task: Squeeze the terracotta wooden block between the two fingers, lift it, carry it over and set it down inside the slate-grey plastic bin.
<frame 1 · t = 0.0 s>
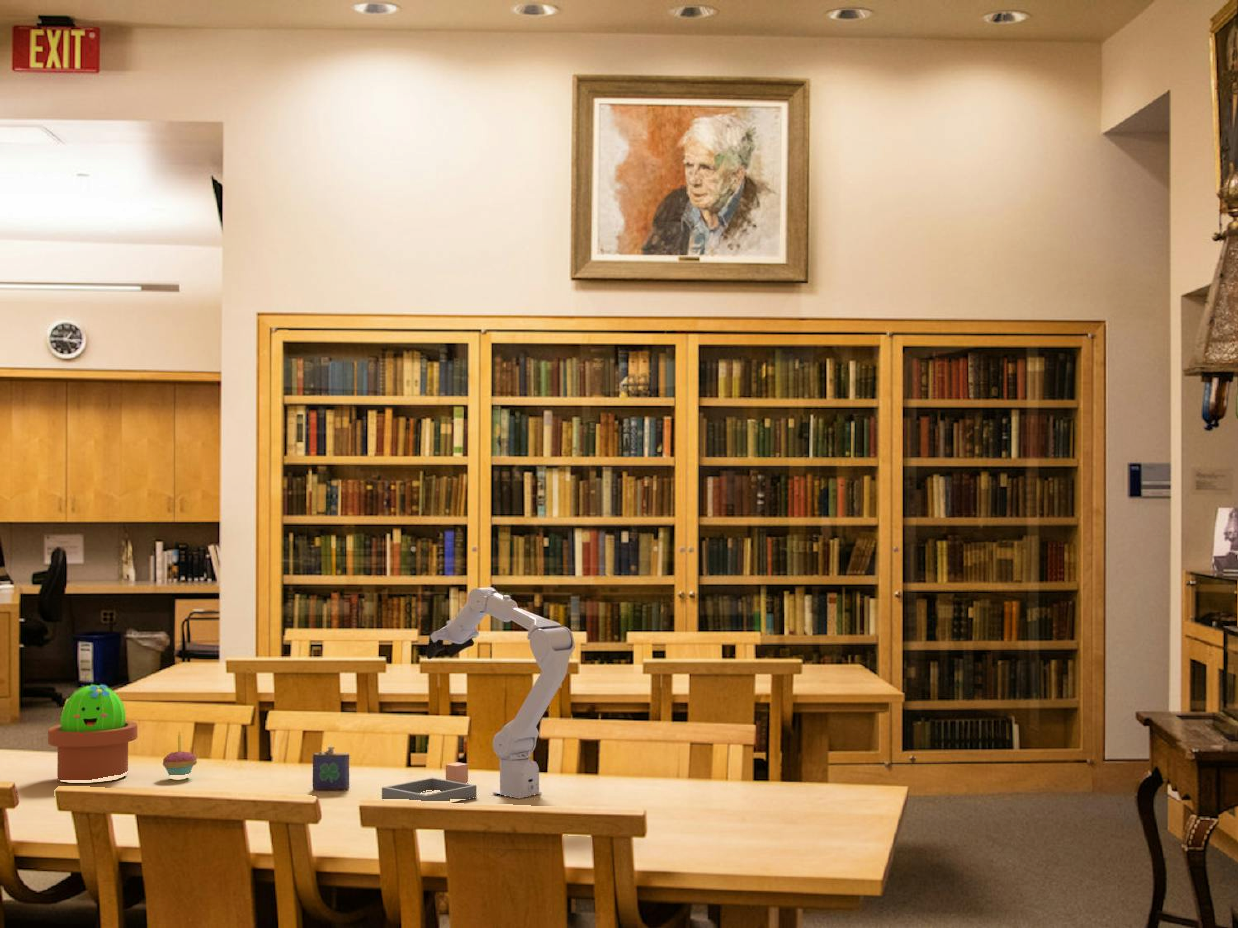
hand: (438, 654, 355), 32 cm above the table, tool tilted 50°, fingers open, 7 cm apart
cupcake: (179, 779, 360), on the table
flask: (330, 790, 343), on the table
bin: (429, 798, 331), on the table
block: (456, 783, 350), on the table
potted cactus: (93, 778, 362), on the table
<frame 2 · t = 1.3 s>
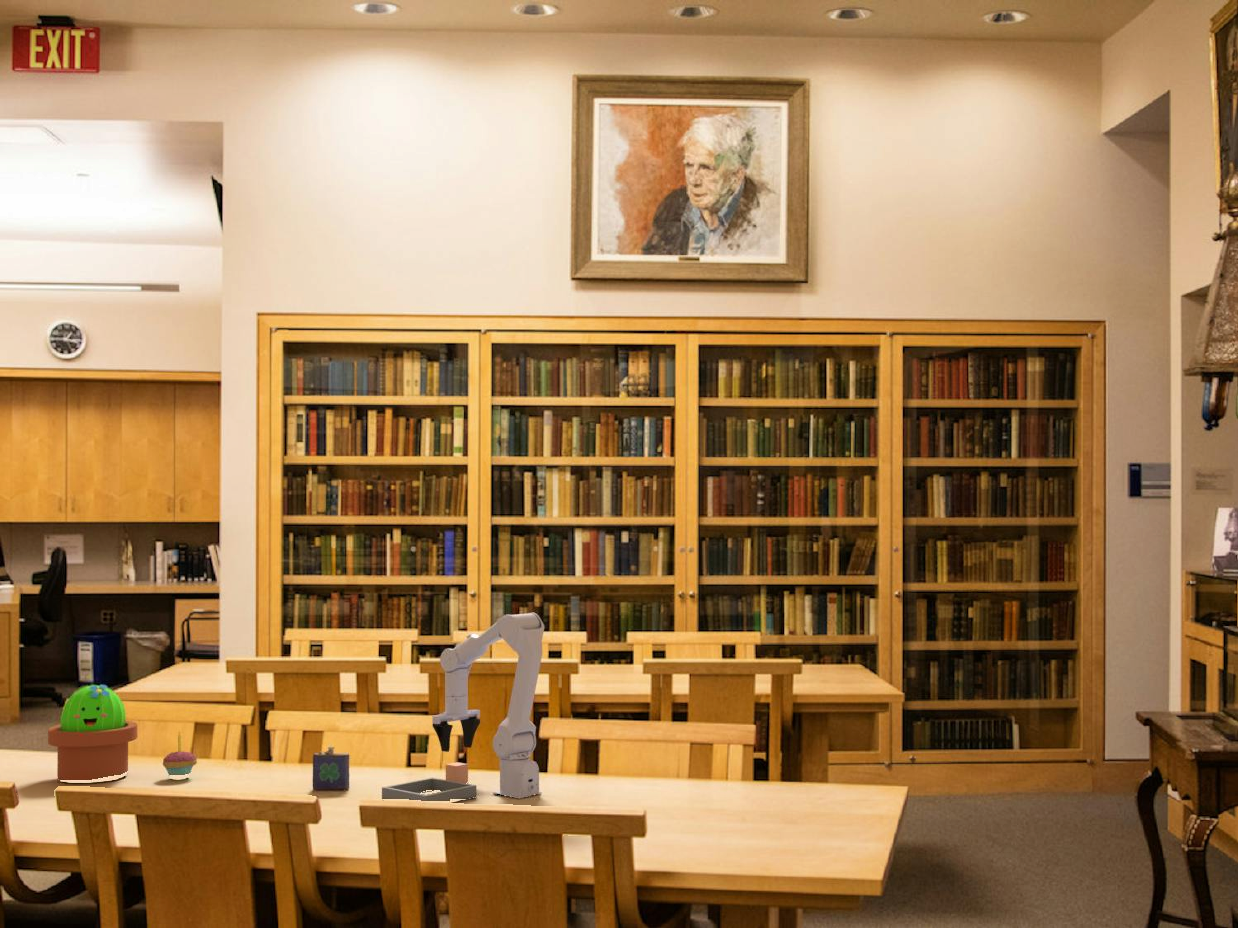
hand: (456, 749, 350), 9 cm above the table, tool pointing down, fingers open, 7 cm apart
nothing on the table moved.
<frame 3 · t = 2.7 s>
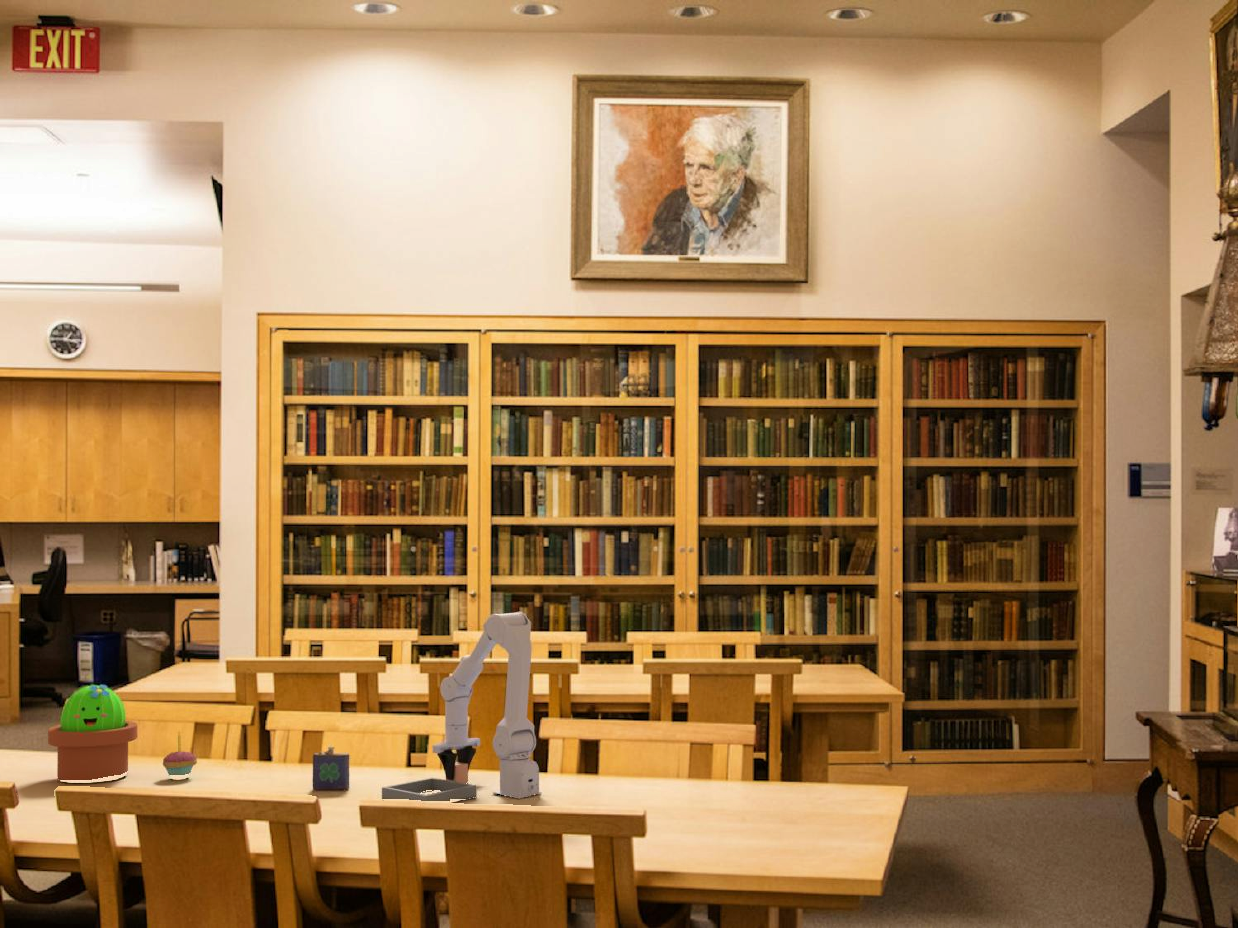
hand: (456, 777, 350), 1 cm above the table, tool pointing down, fingers closed on block, 4 cm apart
block: (456, 783, 350), on the table, touching gripper
everything else where it was.
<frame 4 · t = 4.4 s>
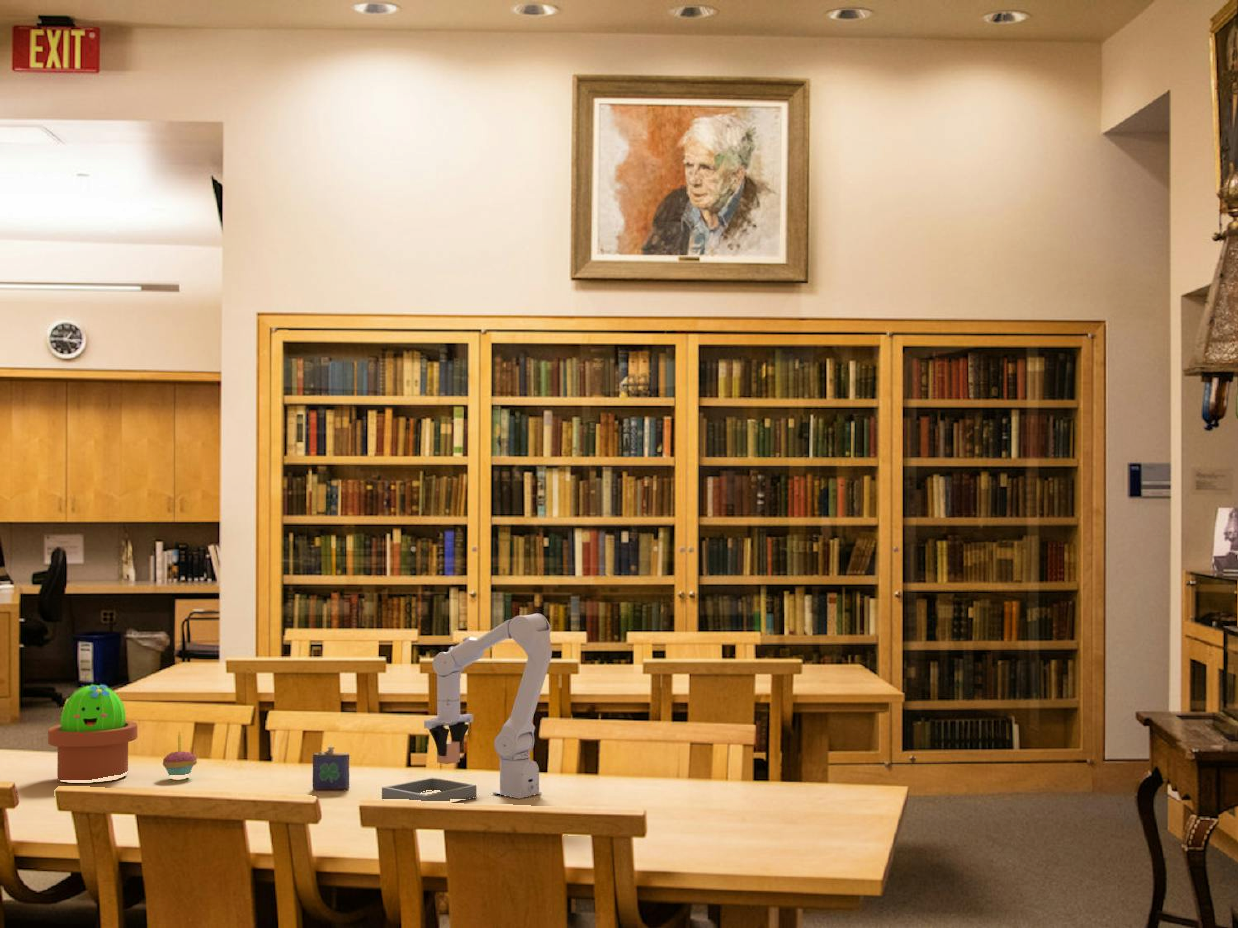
hand: (449, 754, 344), 8 cm above the table, tool pointing down, fingers closed on block, 4 cm apart
block: (448, 762, 345), point 6 cm above the table, touching gripper
everything else where it was.
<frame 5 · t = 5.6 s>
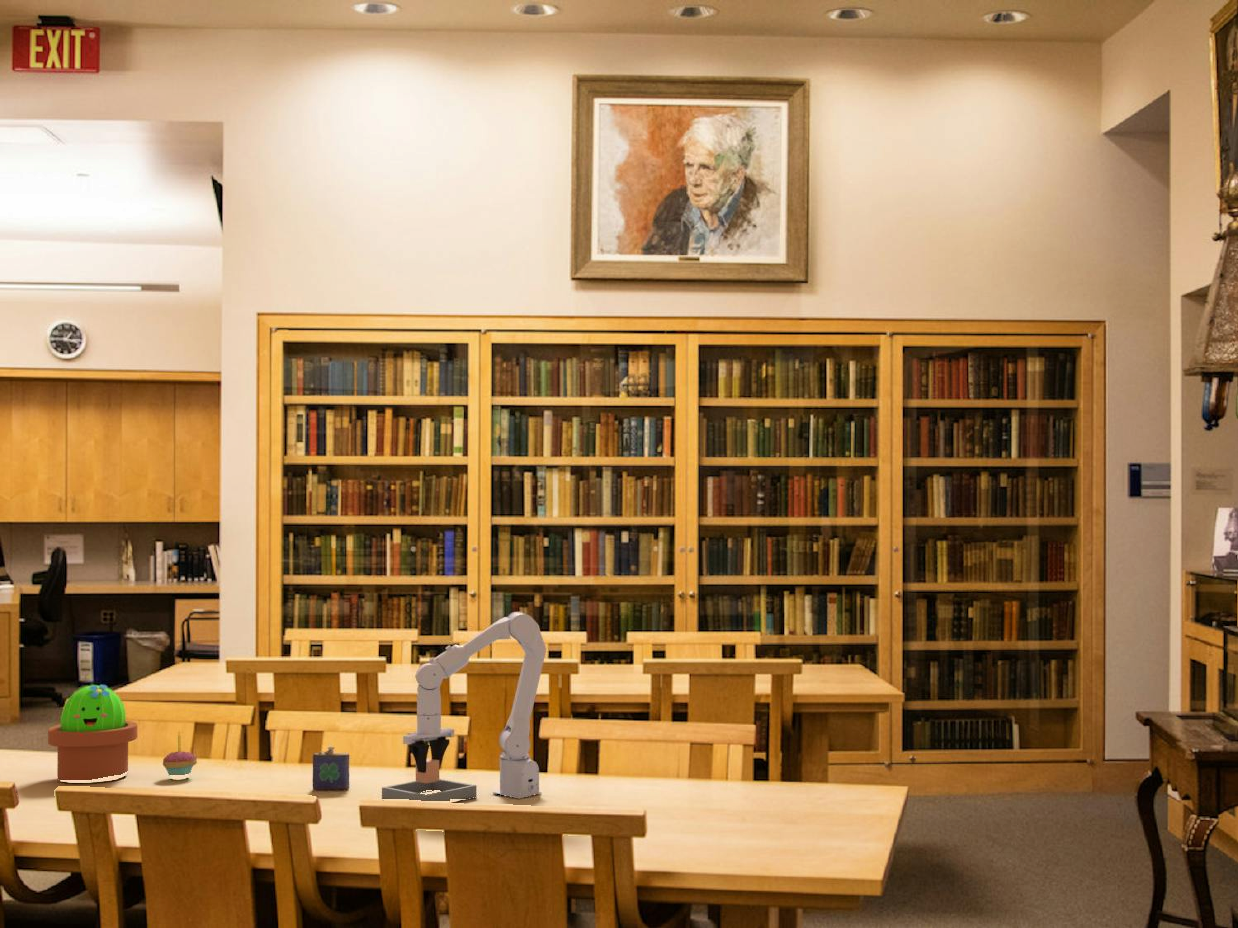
hand: (429, 770, 331), 7 cm above the table, tool pointing down, fingers closed on block, 4 cm apart
block: (427, 780, 331), point 4 cm above the table, touching gripper
everything else where it was.
when the fingers open (3 cm above the table, at t = 6.5 s): block stays where it is, resting on bin.
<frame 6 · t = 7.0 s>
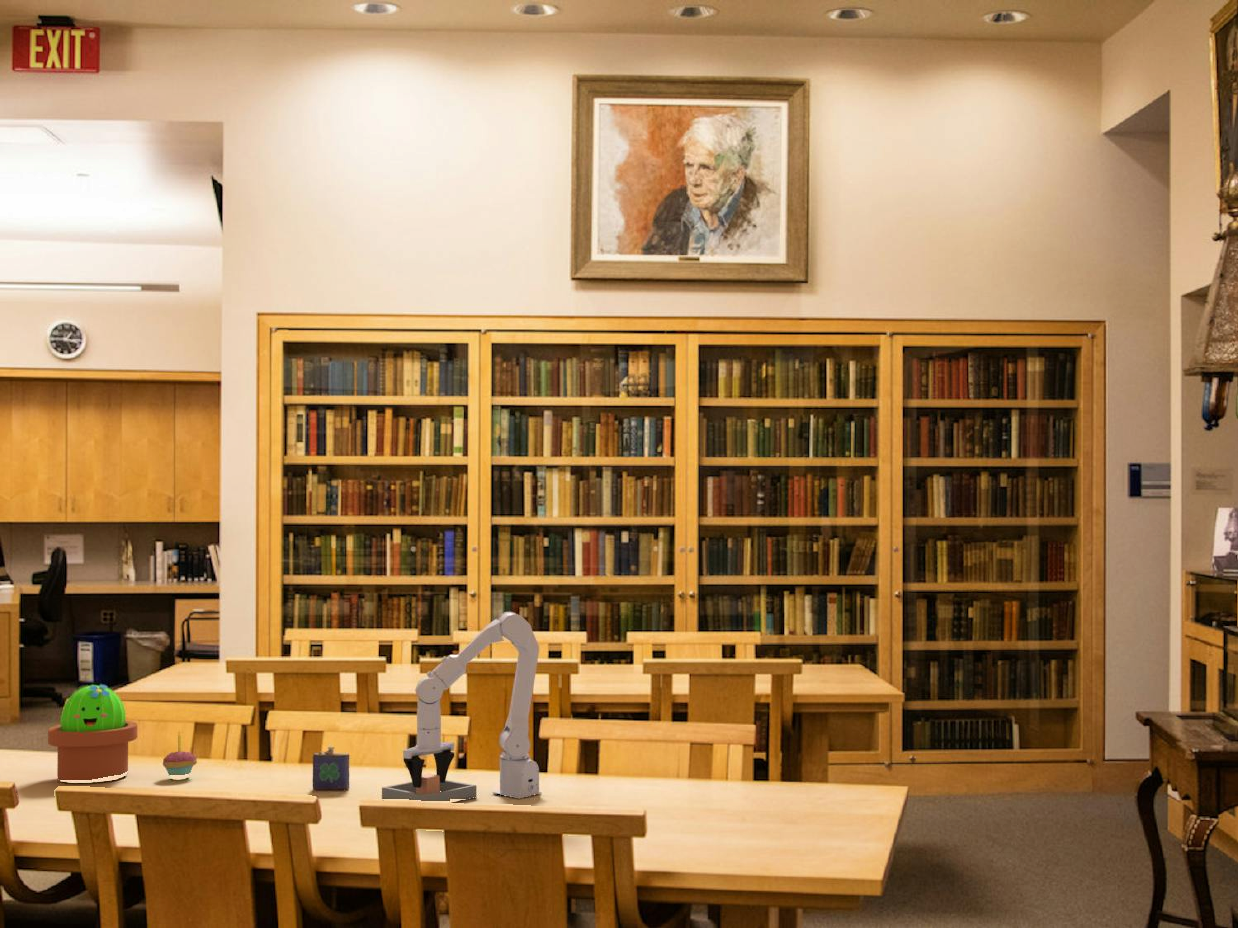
hand: (429, 784, 331), 3 cm above the table, tool pointing down, fingers open, 7 cm apart
block: (427, 796, 331), resting on bin
everything else where it was.
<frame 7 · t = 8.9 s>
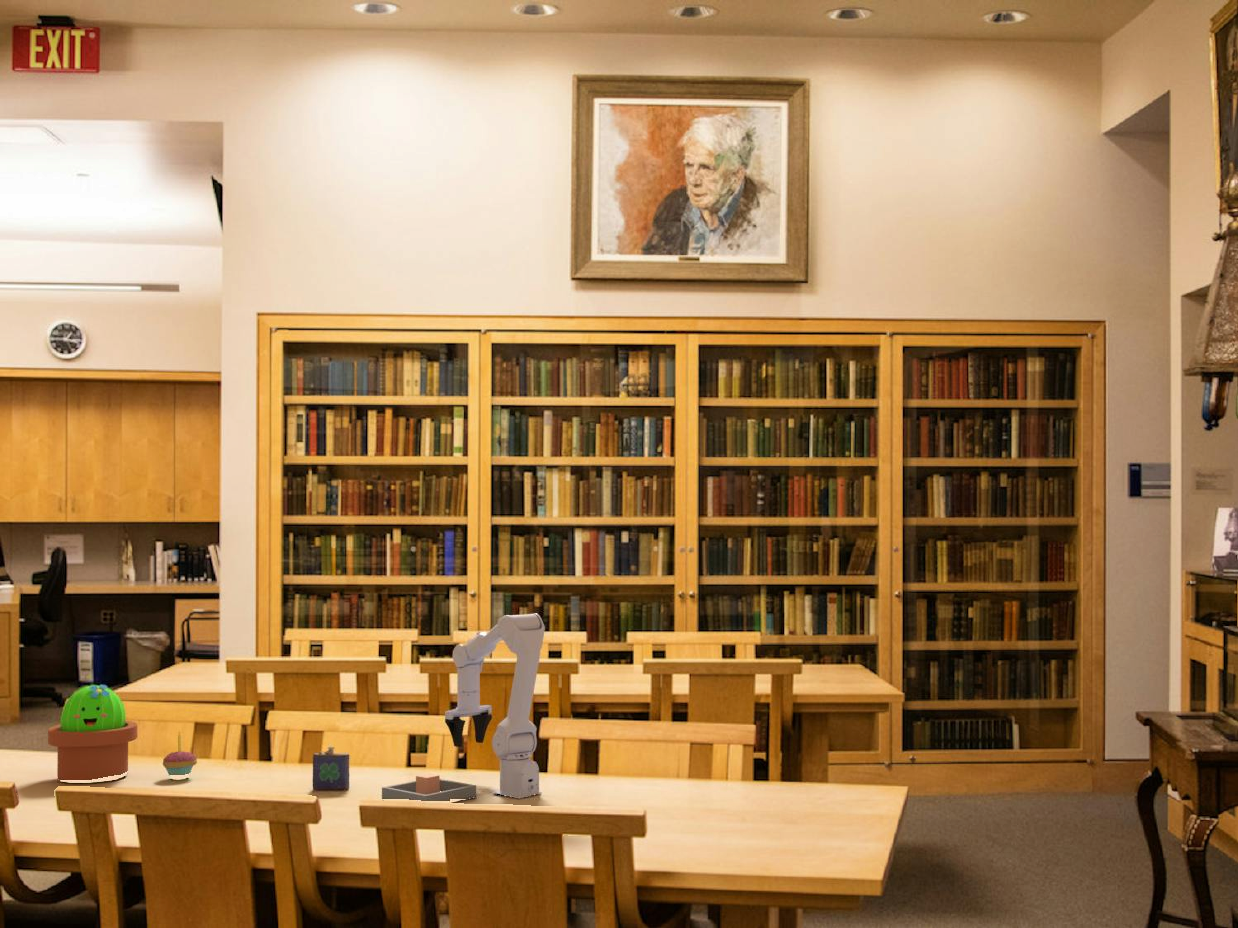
hand: (468, 744, 352), 9 cm above the table, tool pointing down, fingers open, 7 cm apart
nothing on the table moved.
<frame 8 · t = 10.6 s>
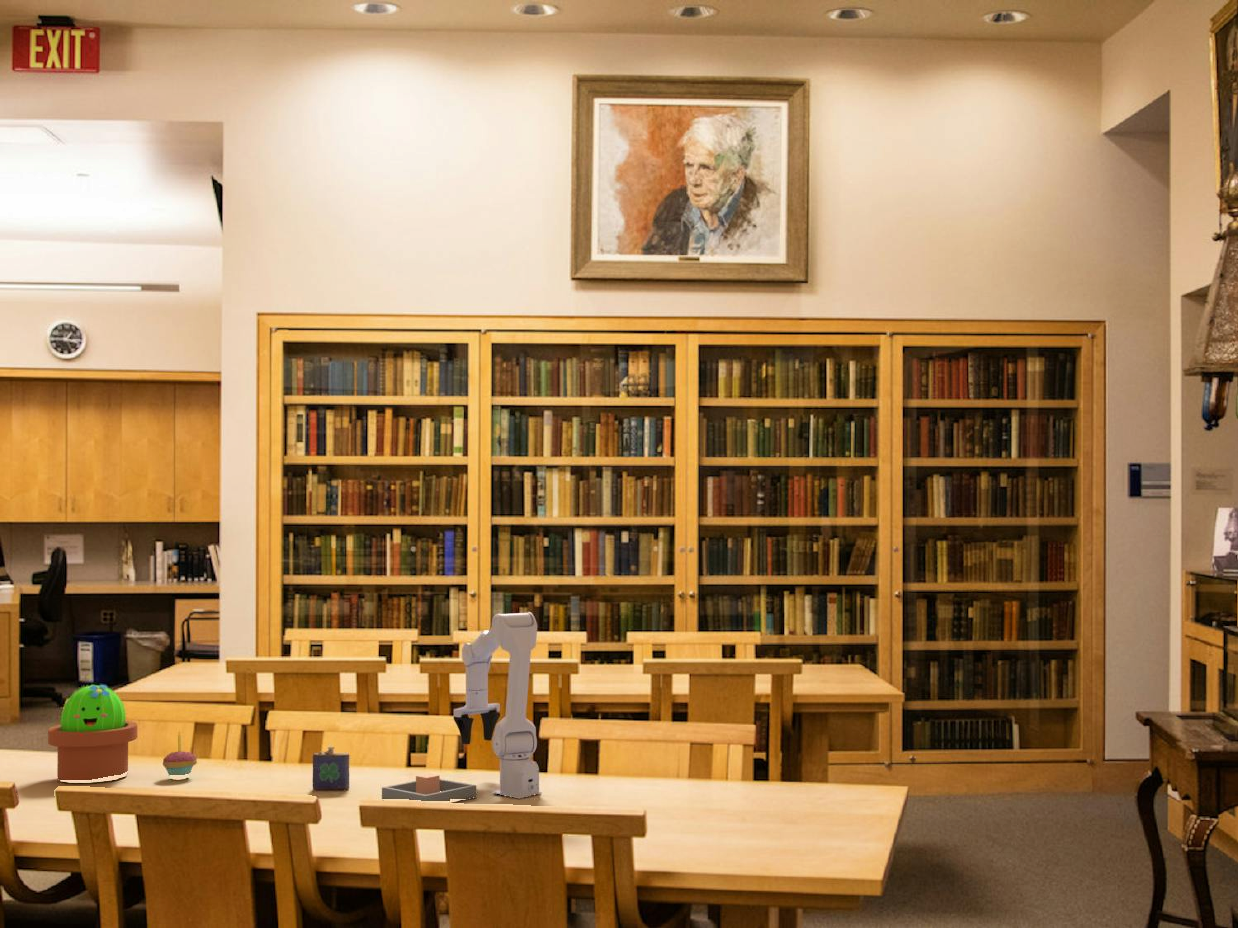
hand: (477, 741, 357), 9 cm above the table, tool pointing down, fingers open, 7 cm apart
nothing on the table moved.
at the end: block inside the target area on the bin (0.5 cm from its centre), point 0.5 cm above the bin's base; block tilted 0°; the gripper is holding nothing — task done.
